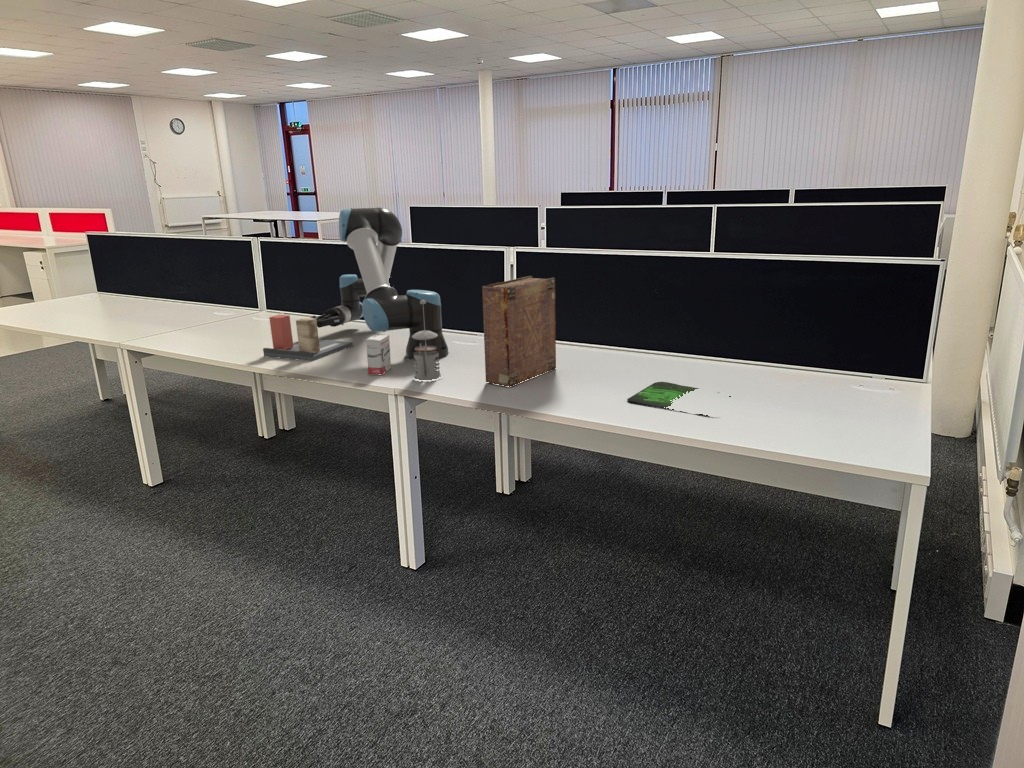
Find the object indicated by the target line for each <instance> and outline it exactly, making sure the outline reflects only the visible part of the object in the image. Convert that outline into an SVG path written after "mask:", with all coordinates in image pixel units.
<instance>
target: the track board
mask: <svg viewBox="0 0 1024 768" xmlns="http://www.w3.org/2000/svg"><path fill="white" fill-rule="evenodd" d="M351 346H352V347H353V346H354V342H353V341H343V340H341V341H340V340H331V339H320V338H319V347H320V351H319V352H316V353H313V352H304V351H299V343H298V340H297V341H293V347H292V348H289V349H286V350H283V349H273V348H270V347H263V348H262V351H263V357H265V356H268V357H267V358H275V357H280V358H279V359H285V358H289V360H295V359H298V361H305V360H307V362H309V361H310V362H314V361H316V360H319V359H321V358H322V359H323V358H325V357H328V356H329V355H333V354H336V353H337V352H340V350H341V351H344V350H346V349H348V347H349V348H351ZM345 348H346V349H345ZM343 349H344V350H343Z"/></svg>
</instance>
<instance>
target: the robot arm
mask: <svg viewBox="0 0 1024 768" xmlns="http://www.w3.org/2000/svg"><path fill="white" fill-rule="evenodd" d="M338 231H339V232H338V233H339V236H338V237H339V239H340V241H341V242H343V243H345V242H346V244H347V247H348V248H350V249H351V250H353V252H354V256H355V260H356V262H357V263H356V264H357V265H358V269H359V272H360V275H361V277H360V278H359V277H358V275H357V274H349V273H348V274H342V275H341V276H340V277H339V291H340V299H341V300H340V302H341V303H340V304H341V305H338V306H335V307H332V308H331V307H330V308H328V309H326V311H325V313H322V314H321V315H318V316H317V315H312V316H311V317H310V318H315V319H316V320H317V328H318V329H319V328H322V327H327V326H328V327H329V326H330V327H334V328H335V327H338V326H344V324H346V323H347V324H348V323H350V322H354V321H358V320H360V319H361V318H363V319H364V322H365V324H366V326H367V327H368V329H369V330H370V331H371V332H375V333H377V332H379V333H380V332H383V333H385V332H388V331H396V330H398V331H399V330H406V329H407V330H408V329H409V337H408V341H407V345H406V347H405V348H406V349H405V356H406V357H407V358H408V357H409V359H411V358H414V353H415V352H417V351H415V348H416V347H419V346H420V343H421V346H425V340H416V339H413V338H412V336H413V335H414V334H415V333H417V332H419V331H423V330H424V321H425V330H426V331H432V332H434V333H436V334H438V336H437V337H436V338H433V339H429V340H426V344H427V346H436V347H437V349H436V350H435V351H438V353H439V357H438V358H437V359H441V358H444V357H446V356H448V355H449V347H448V344H447V341H446V339H445V336H444V334H443V322H442V321H443V320H442V303H441V296H440V294H439V293H437V292H435V291H431V290H425V289H408V290H406V294H405V295H399V294H398V291H397V290H396V289H395V288H394V286H393V287H391V286H390V283H389V278H390V277H391V272H392V268H393V266H394V265H393V264H394V261H395V260H394V259H395V255H396V252H397V246H399V244H400V243H401V241H402V238H403V227H402V225H401V221H400V219H399V218H398V217H397V215H395V214H394V212H392V211H391V210H390V209H388V208H384V207H367V208H366V207H365V208H363V207H362V208H360V207H359V208H345V209H342V210H340V212H339V216H338ZM360 297H364V299H363V301H362V302H361V301H360ZM421 300H425V301H426V304H420V301H421ZM423 305H424V316H423ZM447 354H448V355H447ZM443 356H444V357H443ZM440 357H441V358H440ZM414 359H415V358H414ZM414 359H413V360H414ZM415 360H416V359H415Z"/></svg>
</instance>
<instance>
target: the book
mask: <svg viewBox="0 0 1024 768" xmlns="http://www.w3.org/2000/svg"><path fill="white" fill-rule="evenodd" d="M481 293H482V314H483V317H482V319H483V337H484V338H483V339H484V342H483V343H484V344H483V345H484V366H485V368H484V369H485V370H484V371H485V383H486V382H489V383H494V384H499V385H504V386H509V387H510V386H513V385H515V384H518V383H520V382H522V381H525V380H527V379H530V378H532V377H535V376H537V375H540V374H543V373H545V372H547V371H550V370H553V369H555V368H556V369H557V353H556V352H557V351H556V350H557V349H556V348H557V346H556V345H557V343H556V340H557V337H556V335H557V334H556V330H557V329H556V328H557V327H556V324H557V323H556V278H555V277H551V278H541V277H540V278H539V277H537V278H536V277H533V276H532V275H529V276H523V277H519V278H514V279H509V280H506V281H501V282H496V283H490V284H487V285H482V291H481ZM556 369H555V370H556ZM553 371H554V370H553ZM550 372H551V371H550ZM545 374H546V373H545ZM543 375H544V374H543ZM518 385H519V384H518Z"/></svg>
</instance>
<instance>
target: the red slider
mask: <svg viewBox="0 0 1024 768" xmlns="http://www.w3.org/2000/svg"><path fill="white" fill-rule="evenodd" d="M269 325H270V334H271V340H272V347H273V348H272V349H283V350H286V349H289V348H292V347H293V343H294V340H293V332H292V324H291V316H290V315H289V314H276V315H273V316H270V317H269Z"/></svg>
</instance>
